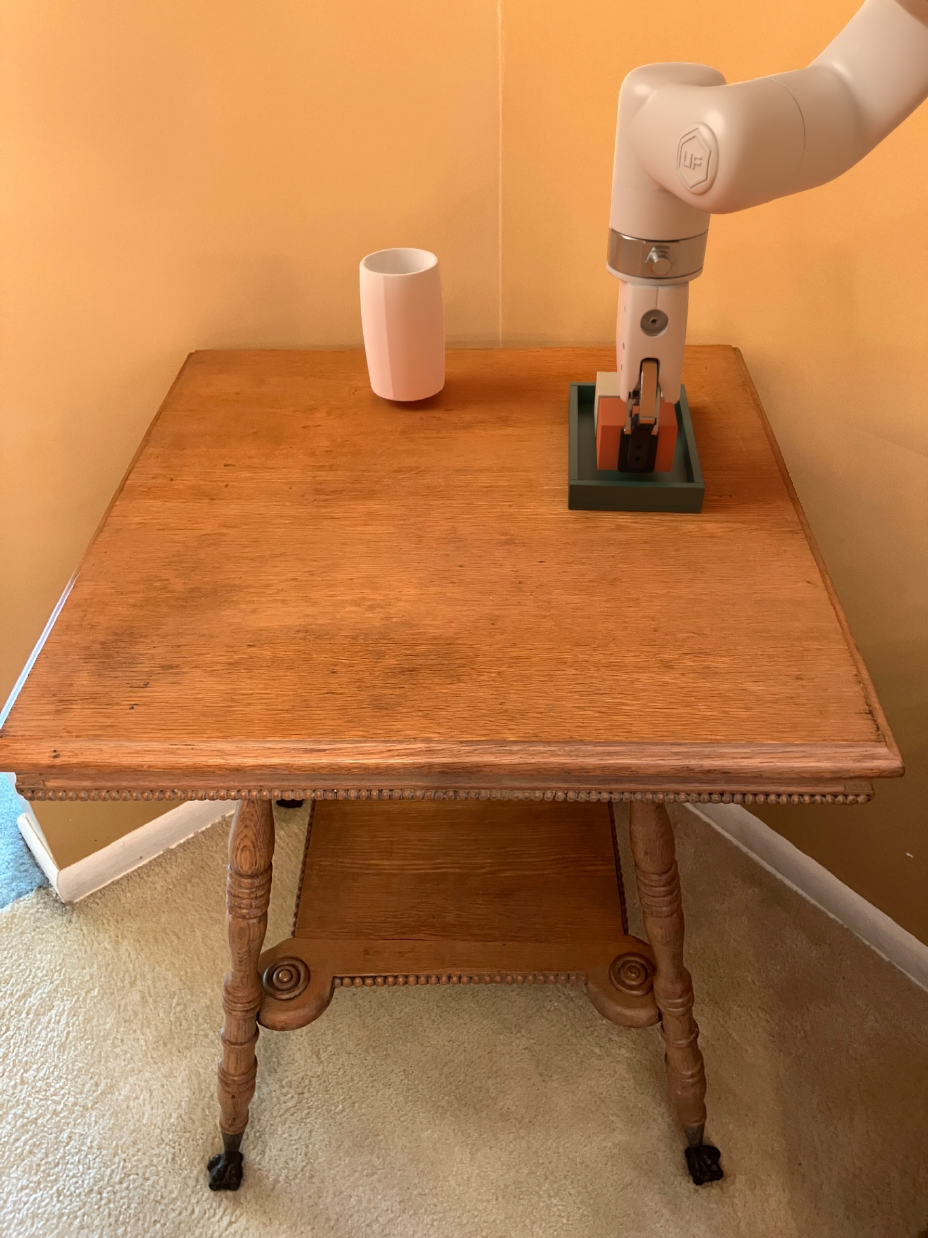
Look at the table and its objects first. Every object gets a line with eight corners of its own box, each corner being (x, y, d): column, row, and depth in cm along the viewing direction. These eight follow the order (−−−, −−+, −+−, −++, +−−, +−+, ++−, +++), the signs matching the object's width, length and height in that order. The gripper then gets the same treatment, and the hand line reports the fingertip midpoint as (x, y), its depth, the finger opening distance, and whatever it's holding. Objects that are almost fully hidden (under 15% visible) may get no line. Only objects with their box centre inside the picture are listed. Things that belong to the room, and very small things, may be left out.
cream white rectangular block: (662, 438, 89) (667, 396, 86) (594, 437, 89) (598, 394, 87) (658, 413, 93) (663, 372, 90) (593, 412, 93) (597, 371, 90)
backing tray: (700, 513, 80) (705, 487, 78) (567, 509, 81) (569, 484, 79) (681, 406, 95) (684, 383, 93) (568, 404, 96) (569, 381, 94)
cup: (459, 382, 100) (454, 250, 91) (431, 418, 94) (423, 280, 85) (387, 372, 103) (376, 242, 93) (356, 406, 97) (341, 271, 88)
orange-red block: (671, 471, 81) (677, 426, 78) (597, 470, 82) (601, 424, 79) (667, 443, 85) (673, 398, 82) (596, 441, 85) (599, 397, 82)
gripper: (718, 291, 64) (684, 508, 76) (694, 214, 77) (668, 409, 89) (610, 290, 65) (593, 505, 77) (604, 214, 78) (590, 408, 90)
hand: (633, 452), depth 83 cm, fingers closed on orange-red block, 5 cm apart
